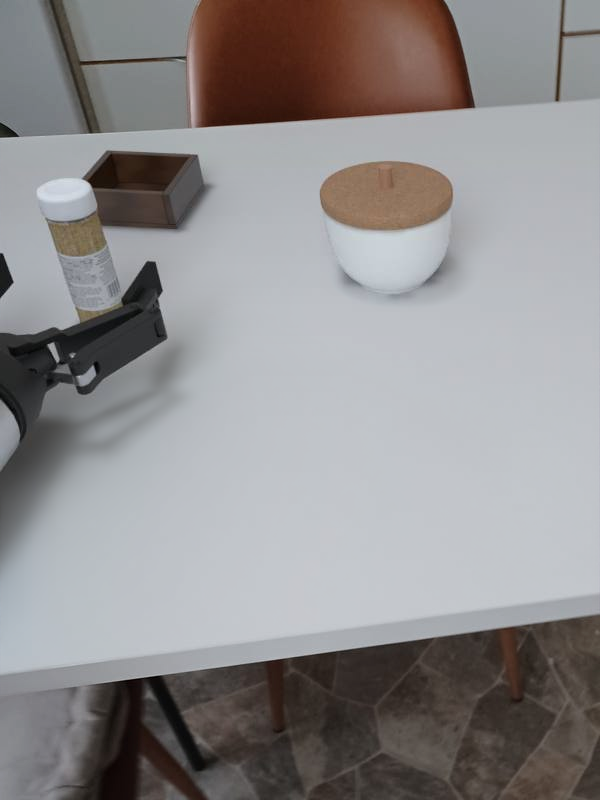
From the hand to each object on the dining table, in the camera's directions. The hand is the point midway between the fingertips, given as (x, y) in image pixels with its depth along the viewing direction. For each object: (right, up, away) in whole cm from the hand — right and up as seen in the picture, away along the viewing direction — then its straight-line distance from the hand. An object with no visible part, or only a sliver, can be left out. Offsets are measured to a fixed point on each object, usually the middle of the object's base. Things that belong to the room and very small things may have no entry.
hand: (79, 271), depth 84 cm
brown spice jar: (0, -3, +6) cm, 7 cm away
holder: (-3, +16, +24) cm, 29 cm away
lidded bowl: (+26, +4, +14) cm, 30 cm away
